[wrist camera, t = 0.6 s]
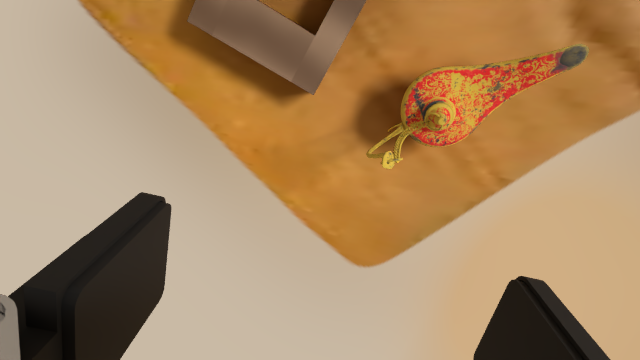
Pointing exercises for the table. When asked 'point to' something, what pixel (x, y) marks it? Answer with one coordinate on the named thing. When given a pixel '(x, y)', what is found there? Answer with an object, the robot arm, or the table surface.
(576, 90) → the table surface
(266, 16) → the shaker holder
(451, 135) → the magic lamp
